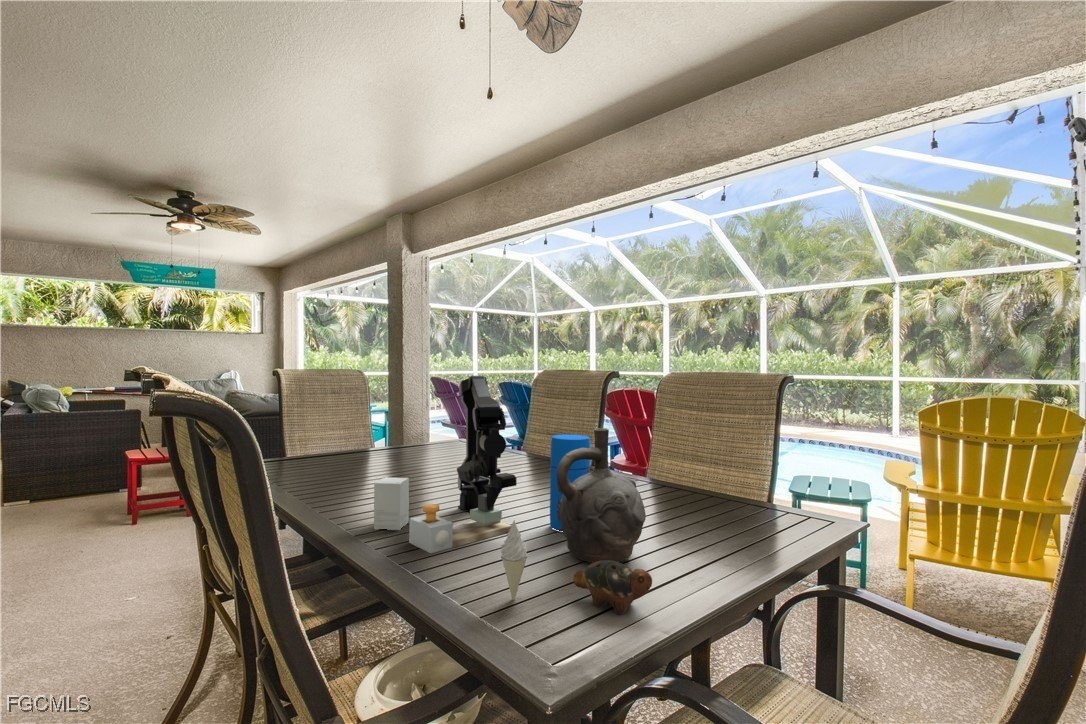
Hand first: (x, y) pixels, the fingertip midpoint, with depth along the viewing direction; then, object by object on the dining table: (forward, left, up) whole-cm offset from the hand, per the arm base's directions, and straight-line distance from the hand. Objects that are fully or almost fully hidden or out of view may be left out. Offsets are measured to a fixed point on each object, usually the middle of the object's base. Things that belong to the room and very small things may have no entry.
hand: (485, 508), depth 138 cm
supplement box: (+17, -20, -6) cm, 27 cm away
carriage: (0, 0, -3) cm, 3 cm away
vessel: (-8, +32, -6) cm, 34 cm away
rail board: (+5, 0, -6) cm, 8 cm away
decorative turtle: (+9, +50, -6) cm, 51 cm away
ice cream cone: (+21, +36, -6) cm, 42 cm away
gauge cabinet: (+17, 0, -6) cm, 18 cm away
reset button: (+17, 0, 0) cm, 17 cm away
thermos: (-19, +13, -6) cm, 24 cm away
